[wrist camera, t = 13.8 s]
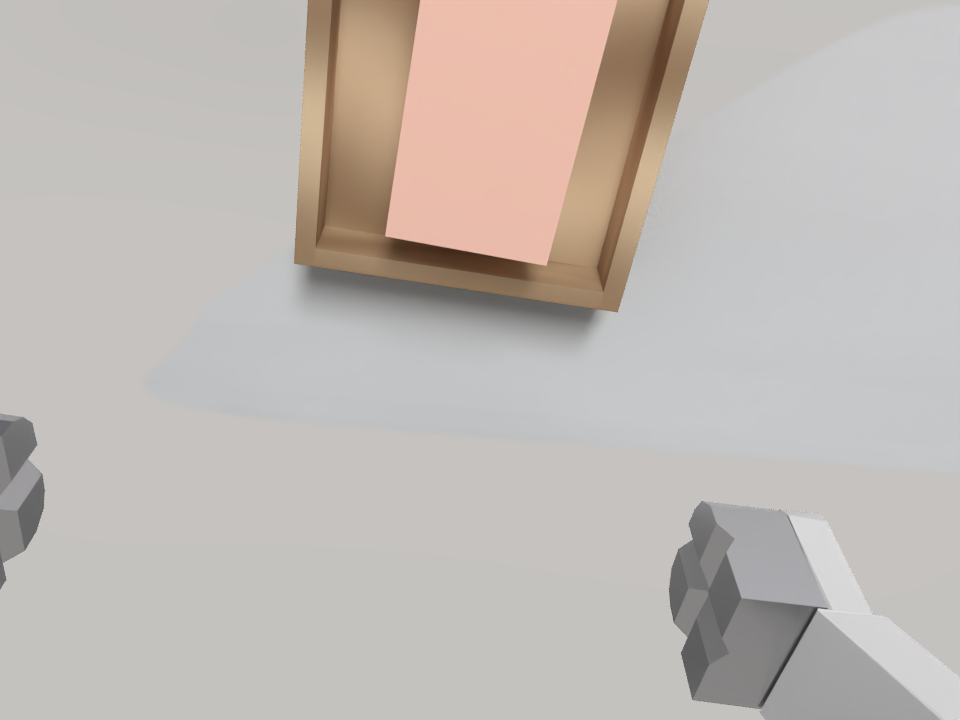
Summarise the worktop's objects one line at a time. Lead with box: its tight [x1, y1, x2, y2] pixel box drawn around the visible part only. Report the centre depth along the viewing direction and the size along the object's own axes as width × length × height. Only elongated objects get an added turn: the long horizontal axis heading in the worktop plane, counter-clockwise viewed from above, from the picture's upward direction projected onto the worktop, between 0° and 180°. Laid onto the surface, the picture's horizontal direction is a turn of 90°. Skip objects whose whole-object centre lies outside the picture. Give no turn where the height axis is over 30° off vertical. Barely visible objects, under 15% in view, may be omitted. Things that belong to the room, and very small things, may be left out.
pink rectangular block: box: [385, 0, 617, 266], centre depth 21 cm, size 11×4×4 cm, turn 169°
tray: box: [294, 0, 709, 312], centre depth 22 cm, size 16×10×2 cm, turn 170°
